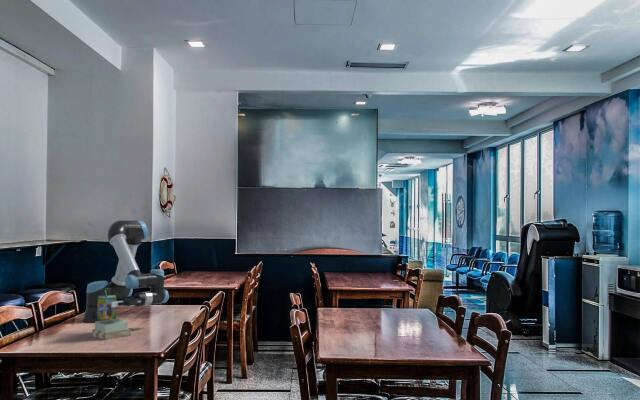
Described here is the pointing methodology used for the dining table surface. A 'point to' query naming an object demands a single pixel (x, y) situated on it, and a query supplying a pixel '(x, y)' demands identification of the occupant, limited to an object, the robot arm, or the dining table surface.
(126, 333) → the bottom block
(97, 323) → the top block
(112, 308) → the chalk box
